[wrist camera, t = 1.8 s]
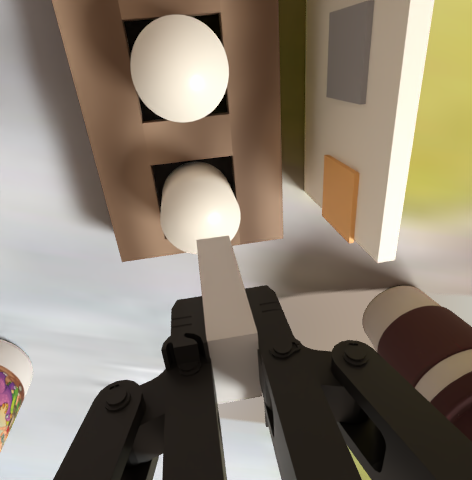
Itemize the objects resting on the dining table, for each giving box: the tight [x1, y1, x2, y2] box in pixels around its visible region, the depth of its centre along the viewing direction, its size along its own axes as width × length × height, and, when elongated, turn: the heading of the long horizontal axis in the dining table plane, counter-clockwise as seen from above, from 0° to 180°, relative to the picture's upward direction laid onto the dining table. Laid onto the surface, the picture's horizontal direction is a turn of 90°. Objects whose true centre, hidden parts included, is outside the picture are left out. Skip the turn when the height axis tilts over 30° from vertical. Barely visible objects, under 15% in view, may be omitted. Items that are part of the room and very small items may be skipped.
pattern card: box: [304, 0, 434, 263], centre depth 20 cm, size 1×20×12 cm, turn 5°
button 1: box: [160, 162, 241, 254], centre depth 23 cm, size 5×5×4 cm
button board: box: [52, 0, 283, 262], centre depth 22 cm, size 12×24×4 cm, turn 5°
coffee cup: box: [363, 286, 472, 442], centre depth 31 cm, size 10×10×15 cm
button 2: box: [130, 15, 229, 122], centre depth 19 cm, size 5×5×4 cm
